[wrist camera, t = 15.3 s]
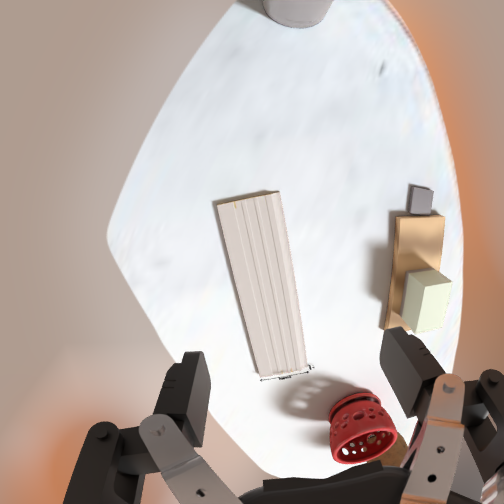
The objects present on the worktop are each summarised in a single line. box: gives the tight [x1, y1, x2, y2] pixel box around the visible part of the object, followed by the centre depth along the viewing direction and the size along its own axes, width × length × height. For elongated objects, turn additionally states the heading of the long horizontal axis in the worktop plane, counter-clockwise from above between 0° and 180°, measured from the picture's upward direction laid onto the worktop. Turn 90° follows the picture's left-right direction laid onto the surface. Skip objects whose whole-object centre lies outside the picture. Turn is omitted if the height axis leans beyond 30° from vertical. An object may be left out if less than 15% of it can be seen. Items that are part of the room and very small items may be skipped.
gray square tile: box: [408, 187, 434, 216], centre depth 37 cm, size 4×4×1 cm
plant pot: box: [329, 393, 397, 464], centre depth 45 cm, size 13×13×12 cm
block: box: [363, 432, 408, 467], centre depth 46 cm, size 11×8×20 cm
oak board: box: [384, 215, 445, 331], centre depth 40 cm, size 20×9×2 cm, turn 5°
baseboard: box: [217, 192, 314, 381], centre depth 41 cm, size 30×3×10 cm
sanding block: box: [399, 267, 453, 334], centre depth 37 cm, size 8×6×6 cm
